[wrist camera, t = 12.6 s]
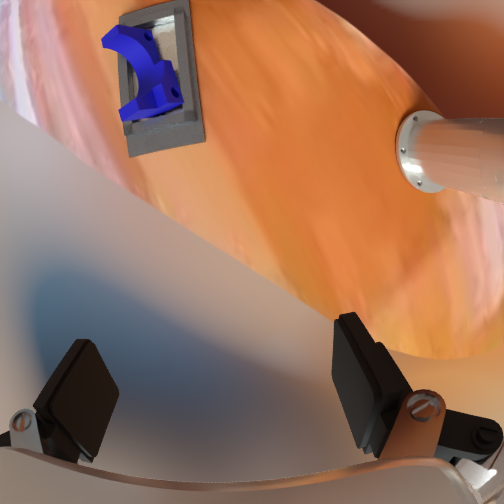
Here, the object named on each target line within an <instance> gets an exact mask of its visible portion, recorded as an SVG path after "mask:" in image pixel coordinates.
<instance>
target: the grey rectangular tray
mask: <svg viewBox="0 0 504 504" xmlns="http://www.w3.org/2000/svg"><path fill="white" fill-rule="evenodd" d="M119 25H123V26H129V27H135V28H141V29H146V30H151V31H152V34H153V38H154V41H155V45H156V48H157V51H158V55H159V58H160V61H161V60H170V61H171V62H172V66H173V69H174V72H175V75H176V78H177V82H178V85H179V88H180V91H181V94H182V97H183V100H184V103H182V104H180V105H178V106H176V107H174V108H172V109H171V110H169V111H167V112H165V113H163V114H161V115H160V116H158V117H152V118H144V119H136V120H130V121H123V129H124V135H126V138H127V145H128V152H129V158H130V157H135V156H140V155H144V154H148V153H152V152H157V151H162V150H166V149H171V148H176V147H181V146H186V145H192V144H197V143H203V142H205V135H204V127H203V120H202V112H201V104H200V96H199V88H198V80H197V71H196V62H195V53H194V43H193V34H192V24H191V13H190V2H189V0H175V1H171V2H166V3H162V4H159V5H155V6H151V7H148V8H144V9H141V10H138V11H135V12H132V13H129V14H126V15H123V16H120V17H119ZM118 73H119V88H120V101H121V108H122V107H123V106H125V105H126V104H128V103H129V102H130V101H132V100H133V99H135V98H136V97H137V94H138V78H137V75H136V72H135V70H134V68H133V67H132V65H131V64H130V62H129V61H128V60H127V59H126V58H125V57H124V56H123V55H121V54H120V53H118Z"/></svg>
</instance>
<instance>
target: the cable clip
mask: <svg viewBox="0 0 504 504" xmlns="http://www.w3.org/2000/svg"><path fill="white" fill-rule="evenodd" d="M101 40H102V45H103V48H108V49H112V50H114V51H116V52H118V53H120V54H121V55H123V56H124V57H125V58H126V59H127V60H128V61H129V62H130V64H131V65H132V67H133V68H134V70H135V72H136V75H137V78H138V94H137V97H136V98H135V99H133V100H132V101H130V102H129V103H128V104H126V105H125V106H123V107H122V108H121V109H119V113H120V117H121V120H122V122H123V121H130V120H136V119H144V118H152V117H158V116H160V115H161V114H163V113H165V112H167V111H169V110H171V109H172V108H174V107H176V106H178V105H180V104H182V103H184V100H183V97H182V94H181V91H180V88H179V85H178V82H177V78H176V75H175V72H174V69H173V66H172V62H171V61H170V60H161V61H160V58H159V55H158V51H157V48H156V45H155V41H154V38H153V34H152V31H151V30H146V29H141V28H135V27H129V26H123V25H116V26H115V27H114V28H113V29H111V30H110V31H109V32H108V33H107V34H106V35H105V36H104V37H103V38H102V39H101Z"/></svg>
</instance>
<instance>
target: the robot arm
mask: <svg viewBox="0 0 504 504" xmlns="http://www.w3.org/2000/svg"><path fill="white" fill-rule="evenodd" d="M396 156H397V161H398V164H399V167H400V170H401V171H402V173H403V175H404V177H405V178H406V180H407V181H408V182H409V183H410V184H411V185H412V186H413V187H415V188H417V189H418V190H421V191H424V192H428V193H436V192H439V191H442V190H443V189H445V188H446V187H448V188H452V189H455V190H459V191H462V192H465V193H469V194H472V195H475V196H478V197H482V198H485V199H488V200H491V201H494V202H497V203H500V204H503V205H504V118H461V119H444V118H443V117H442V116H440V115H439V114H437V113H435V112H433V111H429V110H421V111H416V112H413V113H411V114H410V115H408V116H407V117H406V118H405V119H404V120H403V122H402V123H401V125H400V127H399V129H398V133H397V137H396ZM332 379H333V382H334V385H335V387H336V390H337V393H338V395H339V398H340V401H341V404H342V407H343V409H344V412H345V415H346V418H347V420H348V423H349V426H350V429H351V432H352V434H353V437H354V440H355V443H356V446H357V448H358V449H360V448H363V451H364V454H368V453H372V452H373V454H374V457H376V458H378V460H377V461H372V462H366V463H362V464H357V465H353V466H348V467H343V468H338V469H334V470H329V471H325V472H319V473H313V474H308V475H301V476H294V477H287V478H279V479H271V480H260V481H247V482H221V483H220V482H219V483H218V482H212V483H211V482H182V481H168V480H158V479H149V478H142V477H135V476H128V475H122V474H117V473H111V472H107V471H103V470H98V469H94V468H90V467H85V466H82V465H79V463H78V459H81V460H82V461H85V462H89V463H92V462H93V459H94V457H96V456H97V454H98V451H99V448H100V446H101V443H102V439H103V437H104V434H105V432H106V429H107V426H108V423H109V421H110V418H111V415H112V413H113V410H114V408H115V405H116V402H117V400H118V397H119V390H118V387H117V386H116V384H115V382H114V380H113V378H112V377H111V375H110V373H109V371H108V369H107V367H106V365H105V363H104V362H103V360H102V358H101V356H100V354H99V352H98V350H97V348H96V346H95V344H94V343H92V341H90V340H89V339H77V340H75V342H74V343H73V344H72V346H71V347H70V349H69V350H68V352H67V353H66V355H65V356H64V357H63V359H62V360H61V362H60V363H59V365H58V367H57V368H56V369H55V371H54V372H53V374H52V376H51V377H50V379H49V380H48V382H47V383H46V385H45V386H44V388H43V390H42V391H41V393H40V394H39V396H38V398H37V399H36V401H35V403H34V404H33V407H34V408H35V409H36V411H37V412H36V413H34V412H33V411H32V410H30V409H22V410H19V411H18V412H16V413H15V414H14V415H13V417H12V418H11V420H10V424H9V428H10V430H9V431H7V432H5V433H3V434H1V435H0V504H478V503H477V500H476V498H475V496H474V494H473V493H472V491H471V489H470V487H469V486H468V484H467V482H466V481H468V482H470V483H471V484H472V486H471V487H473V488H474V489H476V490H477V491H478V492H479V493H480V494H481V497H482V504H504V436H503V431H502V428H501V427H500V425H499V424H498V423H497V422H495V421H494V420H491V419H488V418H482V417H478V416H474V415H469V414H465V413H461V412H456V411H452V410H448V409H446V404H445V401H444V399H443V398H442V397H441V396H440V395H439V394H438V393H436V392H434V391H431V390H426V389H421V390H416V391H414V392H413V390H412V389H411V387H410V385H409V384H408V382H407V380H406V379H405V377H404V376H403V374H402V372H401V371H400V369H399V368H398V366H397V365H396V363H395V361H394V360H393V358H392V357H391V355H390V354H389V352H388V351H387V349H386V348H385V346H384V345H383V344H382V343H381V342H376V343H375V342H374V340H373V338H372V337H371V335H370V334H369V332H368V331H367V329H366V328H365V326H364V324H363V323H362V321H361V320H360V318H359V317H358V315H357V314H356V313H355V312H351V313H346V314H340V315H339V319H335V321H334V340H333V358H332ZM465 480H466V481H465Z"/></svg>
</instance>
